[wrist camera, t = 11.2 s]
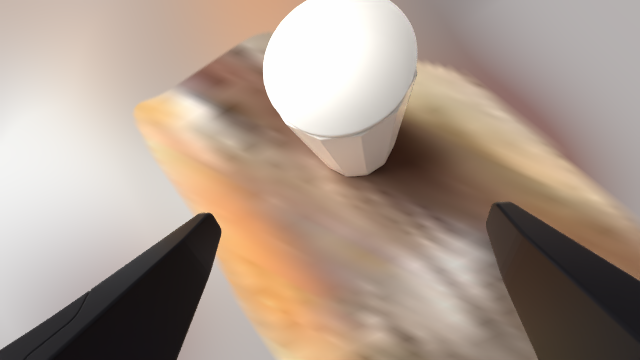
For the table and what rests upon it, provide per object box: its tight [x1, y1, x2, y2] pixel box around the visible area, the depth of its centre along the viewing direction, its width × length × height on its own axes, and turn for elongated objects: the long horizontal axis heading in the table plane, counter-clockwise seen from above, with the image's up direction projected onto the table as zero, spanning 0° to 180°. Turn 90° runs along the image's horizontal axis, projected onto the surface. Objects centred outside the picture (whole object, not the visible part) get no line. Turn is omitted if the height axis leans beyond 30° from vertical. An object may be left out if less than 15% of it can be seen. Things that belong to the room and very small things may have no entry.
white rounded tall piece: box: [263, 0, 417, 176], centre depth 16 cm, size 7×7×12 cm
